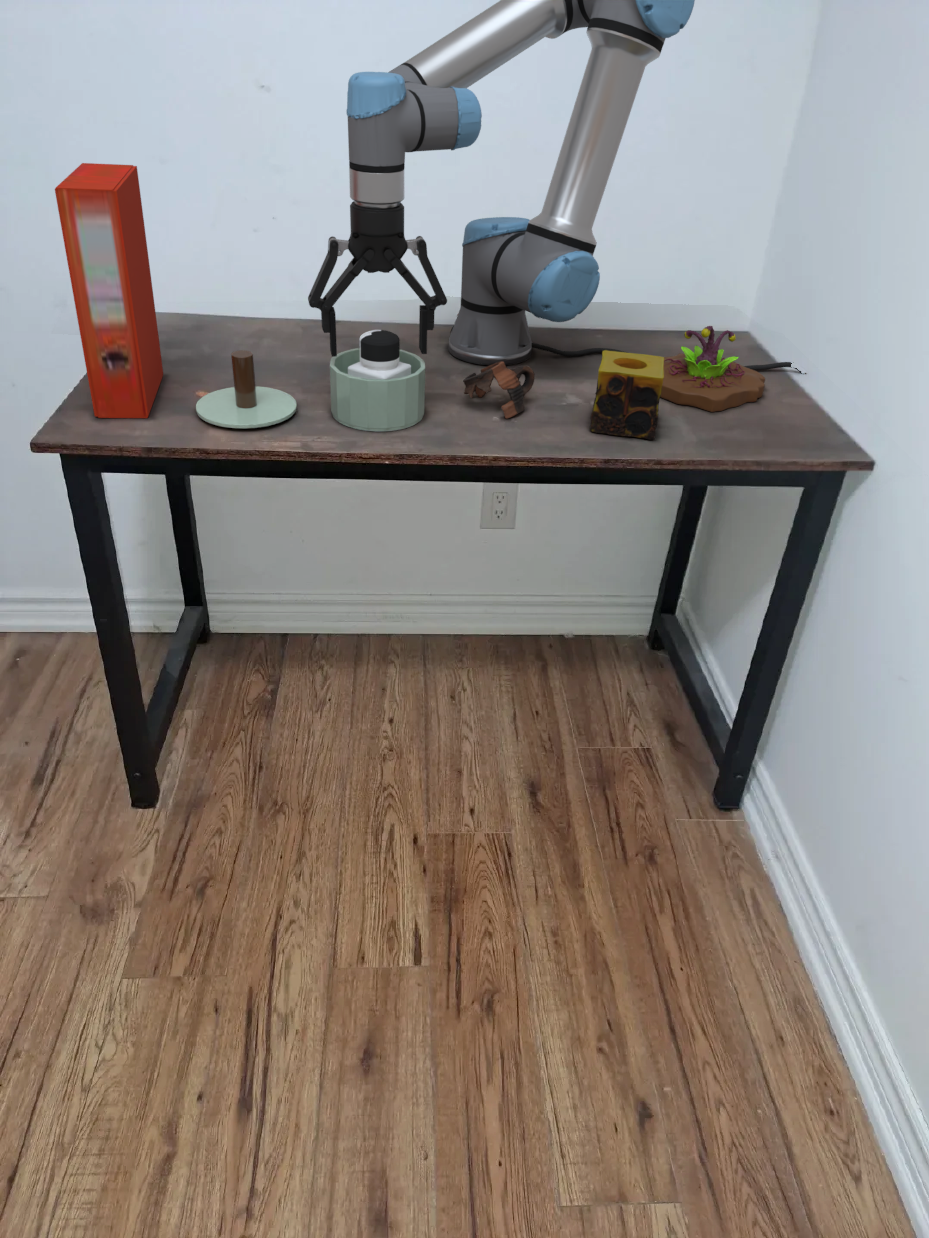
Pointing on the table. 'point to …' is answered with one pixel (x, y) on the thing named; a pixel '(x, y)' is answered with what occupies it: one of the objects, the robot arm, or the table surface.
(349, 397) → the basin
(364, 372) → the medicine bottle
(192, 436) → the table surface
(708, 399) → the plant
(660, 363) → the yellow brown holed block
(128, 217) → the file binder
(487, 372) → the brown grey curved piece
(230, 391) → the basin lid
